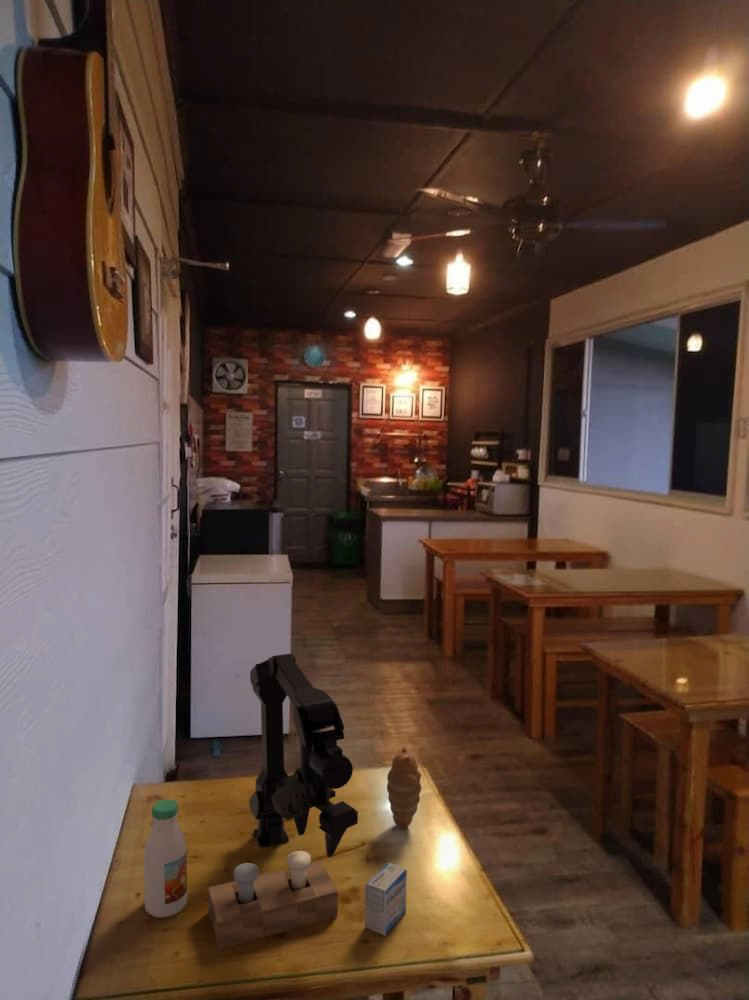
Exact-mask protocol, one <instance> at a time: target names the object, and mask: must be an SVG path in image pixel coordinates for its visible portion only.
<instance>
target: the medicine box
mask: <svg viewBox="0 0 749 1000" xmlns="http://www.w3.org/2000/svg"><path fill="white" fill-rule="evenodd" d="M407 871H408V870H407V869H405V868H404V867H401V866H399V865H397V864H394V863H391V862H386V863H385V865H383V867H382V868H380V870H378V871H377V873H375V875H374V876H372V878H370V880H369V881H368V882H367V883H365V888H364V891H365V892H364V896H365V897H364V927H365V928H366V929H368V930H371V932H374V933H377V934H380V935H382V936H385V937H386V935H388V933H389V932H390V931H391V930H392V929H393V927H394V926H395V925H396V923H397V922H398V921H400V919H401V918H402V917H403V915H404V914H405V913H406V912H407V881H408V880H407V878H408V877H407V876H408V873H407Z"/></svg>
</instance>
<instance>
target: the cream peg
mask: <svg viewBox="0 0 749 1000" xmlns="http://www.w3.org/2000/svg"><path fill="white" fill-rule="evenodd" d="M311 858H312V857H311V854H310V853H308V852H307V851H304V850H295V851H293V852H291V853H289V854H288V855H287V857H286V865H287V867H288V868H290V869H291V887H292V888H293V889H294V890H299V889H303V888H305V887H306V868H308V867H309V866H310V864H311V863H312V862H311V861H312V859H311Z"/></svg>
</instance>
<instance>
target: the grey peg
mask: <svg viewBox="0 0 749 1000" xmlns="http://www.w3.org/2000/svg"><path fill="white" fill-rule="evenodd" d="M258 875H259V866H258V865H256V864H255V863H251V862H245V863H241V864H238V865H237V866H236V867H235V868H234V870H233V879H234V881H236V882H238V900H239V902H240V903H242V904H244V903H248V902H252V901H253V900H254V881H255V880H256V879H257V878H258Z"/></svg>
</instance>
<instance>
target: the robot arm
mask: <svg viewBox="0 0 749 1000" xmlns="http://www.w3.org/2000/svg"><path fill="white" fill-rule="evenodd" d="M249 679H250V684H251V686H252V690H253V692H254V694H255V696H256V697H257V700H259V701H260V713H261V714H260V715H261V718H260V719H261V721H260V723H261V751H262V752H261V753H262V757H261V759H262V769H261V771H260V772H259V774H258V775H257V778H256V780H255V786H254V787H255V790H254V792H253V793H252V795H251V796H250V797H249V799H248V802H249V803H248V804H249V811H250V812H251V814H252V815H253V817H254V820H258V821H257V826H258V827H257V828H256V829H253V835H254V836H255V839H256V842H257V843H258V846H259V847H260V848H266V847H270V846H275V845H279V844H282V843H283V844H284V843H288V842H289V840H290V837H289V836H288V834H287V832H286V830H285V820H286V821H290V820H294V825H295V827H296V830H297V834H298V836H303V835H304V834H305V832H306V830H307V827H308V826H307V824H308V820H309V814H310V810H311V809H312V808H316V809H317V810H319V811H320V814H319V815H318V822H319V824H320V826H318V828H319V830H321V831H323V832H324V839H325V851H326V856H327V857H328V858H331V857H333V856H334V854H335V852H336V850H337V848H338V846H339V844H340V842H341V840H342V838H343V837H344V835H345V832H346V831H347V830H348V829H349V828H351V827H353V826H356V825H358V822H359V811H358V810H356V808H354V807H353V806H351V805H350V804H348V803H346V802H345V801H343V800H342V801H341V800H340V801H339V802H337V803H335V804H334V803H333V802H332V801H330V799H332V798H335V797H336V790H338V789H341V788H343V787H344V786H345V785H347V784H348V783H349V781H350V779H351V778H352V776H353V771H354V767H353V765H352V762H351V760H350V758H348V757H347V756H346V755H345V754H344V753H343V749H342V747H341V746H338V741H341V740H345V733H344V729H345V726H344V723H343V720H342V715H341V713H340V711H339V708H338V707H339V706H337V703H336V702H335V701H334V700H333V698H332V697H331V696H330V695H329V694H328V693H327V692H326V691H325V690H322V689H319V688H316V687H314V686H313V684H312V683H311V682H310V680H309V679H308V677H307V676H306V675H305V673H304V672H303V671H302V669H301V668H300V667H299V665H298V663H297V660H296V657H295V655H294V654H293V653H292V654H291V653H285V654H284V653H283V654H277V655H271V657H269V658H268V659H266V660H264V661H261V662H259V663H256V664H255V665H254V666H253V668H252V669H251V670H250V672H249ZM287 698H288V699H289V700H290V702H291V703H292V705H293V710H292V720H293V724H294V726H295V730H296V732H297V735H298V738H299V768H295V770H294V773H293V774H291V775H289V774H288V773H287V772H286V768H285V744H284V743H285V742H284V713H283V712H284V711H283V710H284V708H283V704H284V702H285V700H286V699H287ZM332 727H333V729H331V728H332ZM329 728H330V729H329ZM323 729H324V730H325V729H329V730H326V731H323Z"/></svg>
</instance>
